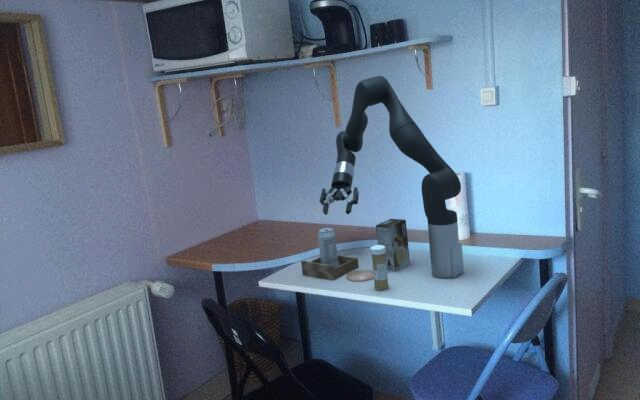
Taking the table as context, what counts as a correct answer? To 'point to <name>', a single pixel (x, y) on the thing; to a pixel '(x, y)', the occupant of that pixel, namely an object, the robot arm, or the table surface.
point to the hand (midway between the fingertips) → (336, 213)
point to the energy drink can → (328, 247)
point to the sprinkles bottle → (379, 267)
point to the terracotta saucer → (360, 275)
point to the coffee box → (394, 243)
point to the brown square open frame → (329, 268)
